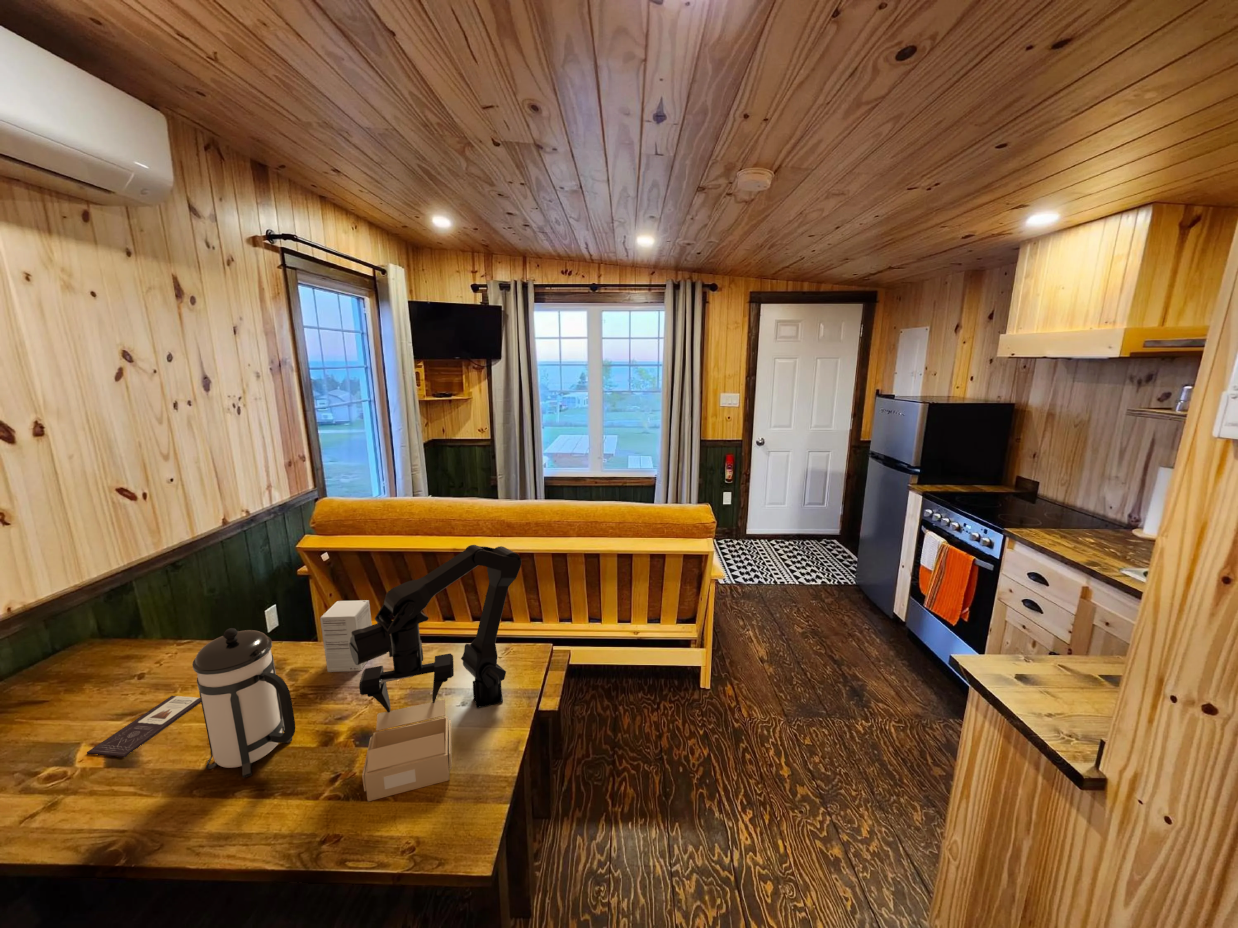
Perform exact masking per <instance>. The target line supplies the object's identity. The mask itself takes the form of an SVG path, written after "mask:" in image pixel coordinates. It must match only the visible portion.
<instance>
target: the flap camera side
mask: <svg viewBox="0 0 1238 928" xmlns="http://www.w3.org/2000/svg"><path fill="white" fill-rule="evenodd" d="M367 751H368V771H372V770H377V769H381V768H385V767H389V766H393V765H397V764H401V763H405V762H409V761H413V760H417V759H421V758H426V757H430V756H434V755H438V754H442V753H445V746H444V733H441V734H436V735H432V736H428V737H423V738H419V739H415V740H410V741H406V742H402V743H398V744H393V745H389V746H385V747H380V748H376V749H372V750H368V749H367Z"/></svg>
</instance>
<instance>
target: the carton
mask: <svg viewBox="0 0 1238 928" xmlns="http://www.w3.org/2000/svg"><path fill="white" fill-rule="evenodd" d="M441 733H444V746H445V753H442V754H438V755H434V756H430V757H426V758H421V759H417V760H413V761H409V762H405V763H401V764H397V765H393V766H389V767H385V768H381V769H377V770H372V771H368V750H372V749H376V748H380V747H385V746H389V745H393V744H398V743H402V742H406V741H410V740H415V739H419V738H423V737H428V736H432V735H436V734H441ZM452 736H453V735H452V722H451V719H449V716H446V715H445V716H442V717H438V718H433V719H429V720H424V721H420V722H415V723H411V724H406V725H402V726H397V727H393V728H388V729H384V730H379V731H375V732H373V735H372V736H370V737H369V738H370V739H369V741H368V747H367V752H366V756H365V760H364V765H363V768H362V776H361V777H362V784H363V791H364V792H365V793H366V797H367V802H371V801H375V800H379V799H382V798H386V797H389V796H393V795H397V794H401V793H402V794H403V793H405V792H409V791H412V790H417V789H421V788H424V787H428V786H432V785H436V784H438V783H439V784H440V783H443V782H447V781H450V770H452V768H453V767H452V765H453V764H452V762H453V761H452V757H453V755H452V754H453V753H452V749H453V747H452V746H453V744H452V742H453V741H452Z"/></svg>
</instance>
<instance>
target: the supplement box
mask: <svg viewBox="0 0 1238 928" xmlns="http://www.w3.org/2000/svg"><path fill="white" fill-rule="evenodd" d="M319 619H320V627H321V634H322V641H323V649H324V656H325V663H326V668H327V672H328V673H332V672H333V673H334V672H358V671H362V670H363V669H364V667H365V665H367V663H368V661H367V662H364V663H361V664H359V665H356V664H355V663H354V661H353V658H352V655H351V652H350V646H349V643H350V638H351V637H352V633H351V632H352V631H355V630H358V629H363V628H366V627H369V626H372V625H373V623H372V615H371V605H370V600H369V599H368V600H367V599H366V600H365V599H364V600H363V599H360V600H337V601H336V602H334V604H332V605H331V607H329V608H328V609H327V611H326V612H324V613H323V615H321V616H320V617H319Z"/></svg>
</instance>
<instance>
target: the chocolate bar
mask: <svg viewBox="0 0 1238 928" xmlns="http://www.w3.org/2000/svg"><path fill="white" fill-rule="evenodd" d="M200 704H201V699H200V697H193V696H181V695H170V696H169V697H167V698H166V699H164V700H162V702H160V703H158V704H157V705H156V706H154V707H153V708H151V709H150V710H148V711H147V712H145V713H143V714H142V715H140V716H139V717H137V718H136V719H134V720H133V721H131V722H130V723H128V724H127V725H126V726H124V727H122V728H121V729H120V730H117V732H115V733H114V734H111V735H110V736H109V737H107V738H106V739H105V740H103V741H101V742H100V743H98V744H97V745H96V746H94V747H92V748H91V749H90V750H88V751H86V754H87V755H90V754H98V755H97V756H100V755H107V756H106V757H111V756H118V757H117V758H122V757H125V758H126V757H128V756H129V755H130V754H131V753H130V752H132V753H133V752H134V751H133V750H134V749H136V748H137V749H139V748H140V747H141V746H143V745H144V744H145V742H146V743H147V742H148V741H150V740H151V739H152V738H154V737H155V736H157V735H158V734H159V733H161V732H162V731H163V730H165V729H167V728H168V727H169V726H171V725H172V724H173V723H175V722H176V721H177V720H179V719H180V718H182V717H183V716H184V715H186V714H188V712H190V711H191V710H193V709H194V708H195V707H197V706H198V705H200ZM142 744H143V745H142ZM140 745H141V746H140ZM139 746H140V747H139ZM138 747H139V748H138ZM137 749H136V750H137ZM129 753H130V754H129ZM128 754H129V755H128ZM127 755H128V756H127Z"/></svg>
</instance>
